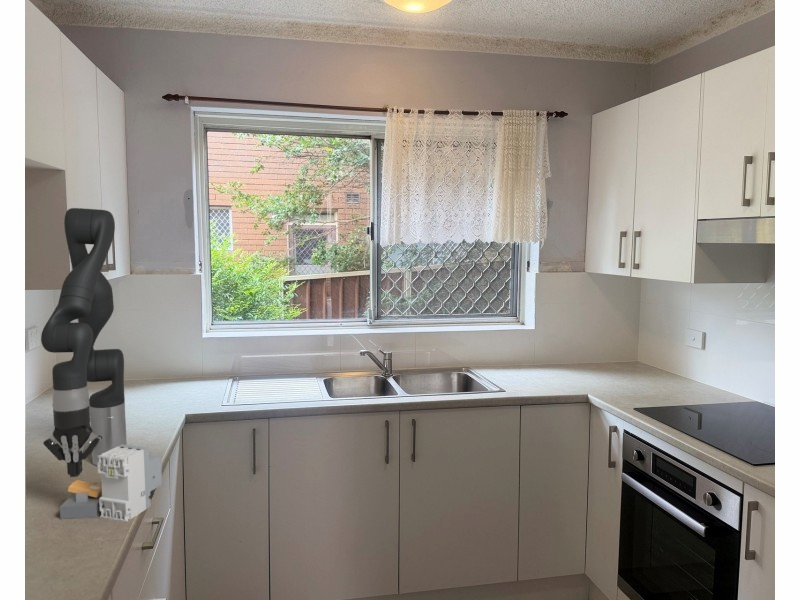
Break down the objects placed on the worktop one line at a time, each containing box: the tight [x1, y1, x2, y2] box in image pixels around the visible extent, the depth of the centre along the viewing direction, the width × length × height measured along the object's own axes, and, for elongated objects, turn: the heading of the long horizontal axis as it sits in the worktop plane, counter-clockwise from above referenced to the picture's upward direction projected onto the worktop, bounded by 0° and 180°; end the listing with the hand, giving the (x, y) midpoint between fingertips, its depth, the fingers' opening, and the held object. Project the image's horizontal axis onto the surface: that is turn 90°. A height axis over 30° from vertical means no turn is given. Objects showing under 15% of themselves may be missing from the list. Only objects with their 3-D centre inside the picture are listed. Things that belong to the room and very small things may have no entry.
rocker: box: [67, 479, 102, 497], centre depth 138 cm, size 4×7×2 cm, turn 97°
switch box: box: [59, 482, 104, 520], centre depth 139 cm, size 10×8×5 cm
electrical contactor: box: [96, 444, 163, 523], centre depth 140 cm, size 8×14×15 cm, turn 164°
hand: (75, 475), depth 138 cm, fingers closed
